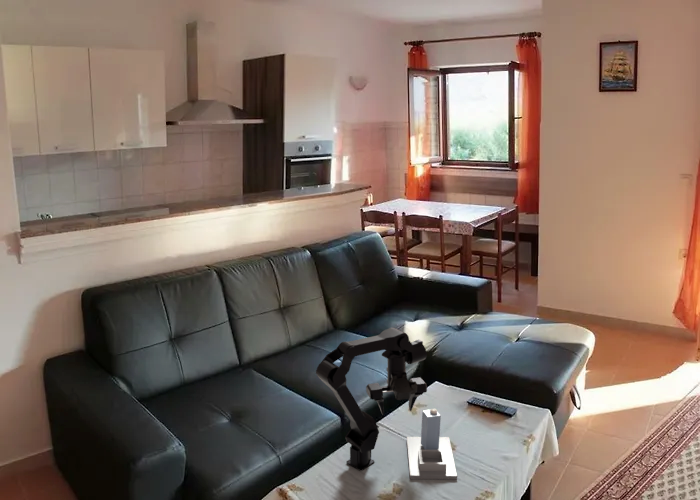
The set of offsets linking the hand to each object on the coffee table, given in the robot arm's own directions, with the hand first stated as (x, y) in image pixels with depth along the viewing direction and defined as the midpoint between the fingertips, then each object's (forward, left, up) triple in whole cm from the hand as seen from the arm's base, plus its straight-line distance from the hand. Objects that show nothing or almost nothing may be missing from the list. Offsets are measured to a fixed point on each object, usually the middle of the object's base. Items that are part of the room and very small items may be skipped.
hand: (396, 412), depth 209 cm
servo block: (+6, -9, -11) cm, 16 cm away
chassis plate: (+2, -12, -13) cm, 18 cm away
